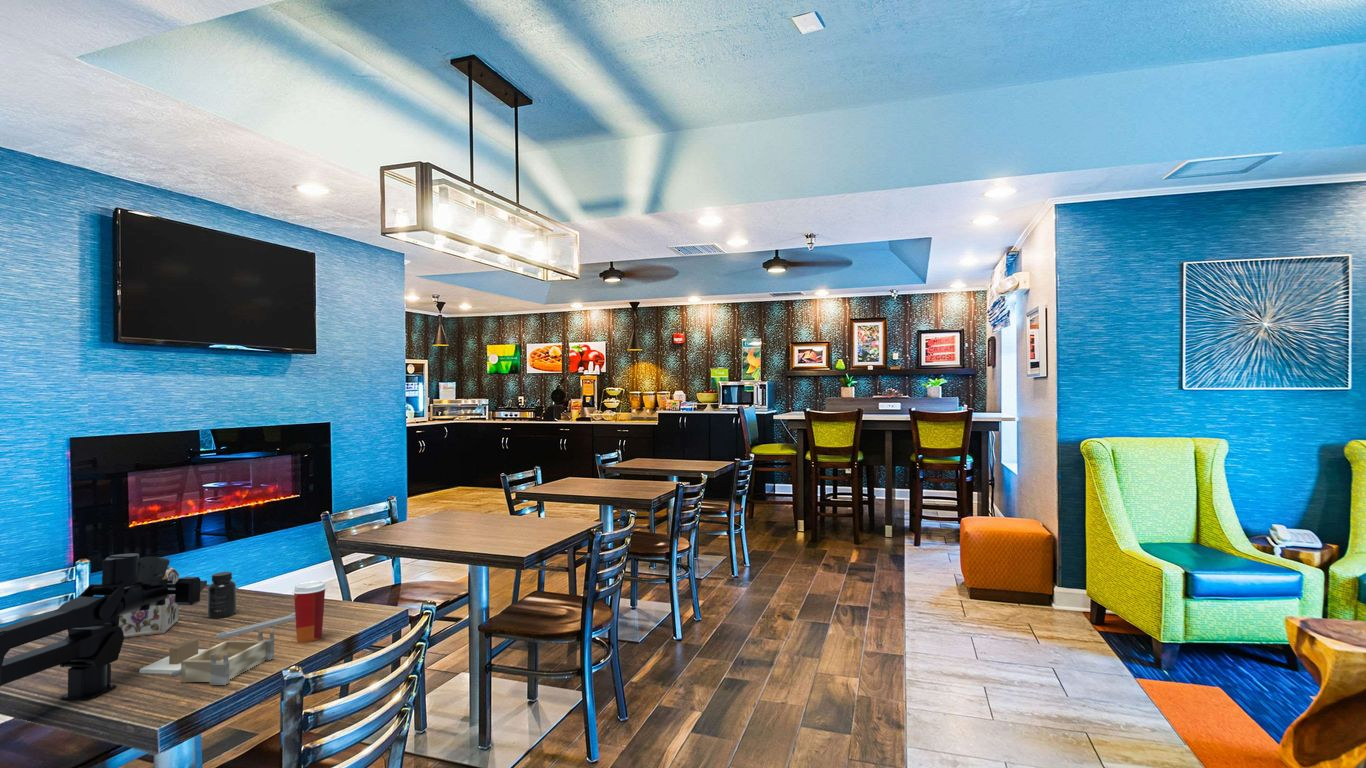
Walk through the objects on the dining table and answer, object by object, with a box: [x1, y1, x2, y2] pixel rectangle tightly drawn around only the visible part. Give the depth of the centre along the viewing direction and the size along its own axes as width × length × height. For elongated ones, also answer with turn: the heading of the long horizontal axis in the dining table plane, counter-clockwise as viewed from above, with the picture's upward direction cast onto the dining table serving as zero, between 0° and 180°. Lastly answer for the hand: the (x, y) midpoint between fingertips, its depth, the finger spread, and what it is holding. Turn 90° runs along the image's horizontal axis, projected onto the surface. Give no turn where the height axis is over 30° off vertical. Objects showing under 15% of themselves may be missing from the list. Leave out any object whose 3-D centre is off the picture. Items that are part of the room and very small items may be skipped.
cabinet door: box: [139, 638, 207, 677], centre depth 157 cm, size 15×10×5 cm
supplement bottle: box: [207, 571, 237, 619], centre depth 192 cm, size 7×7×12 cm
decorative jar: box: [119, 566, 180, 639], centre depth 180 cm, size 12×12×18 cm
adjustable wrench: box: [216, 611, 296, 640], centre depth 183 cm, size 25×6×2 cm, turn 138°
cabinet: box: [180, 630, 275, 686], centre depth 152 cm, size 15×11×6 cm
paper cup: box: [292, 580, 327, 644], centre depth 172 cm, size 8×8×14 cm
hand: (189, 582), depth 166 cm, fingers open, 9 cm apart
